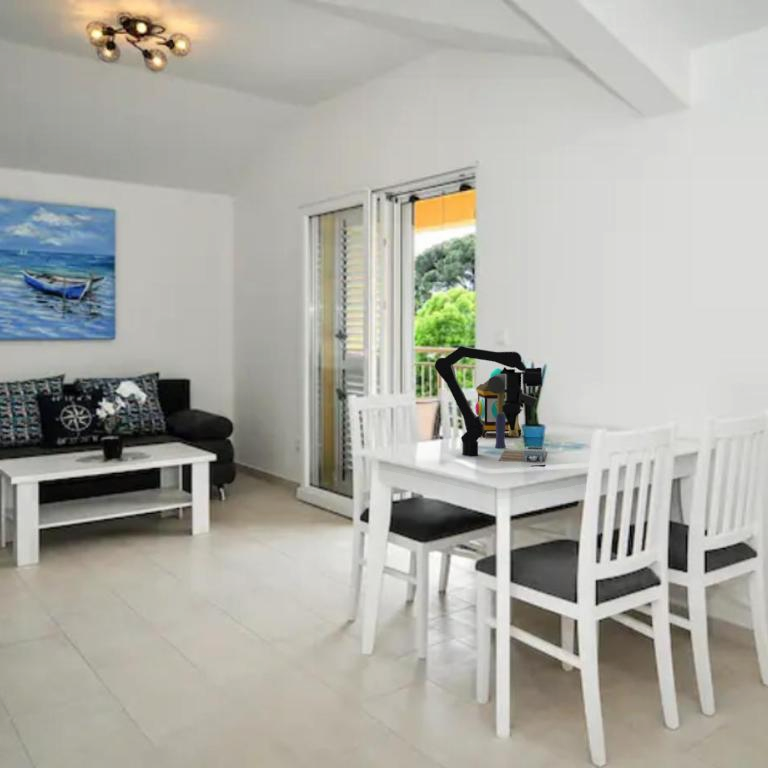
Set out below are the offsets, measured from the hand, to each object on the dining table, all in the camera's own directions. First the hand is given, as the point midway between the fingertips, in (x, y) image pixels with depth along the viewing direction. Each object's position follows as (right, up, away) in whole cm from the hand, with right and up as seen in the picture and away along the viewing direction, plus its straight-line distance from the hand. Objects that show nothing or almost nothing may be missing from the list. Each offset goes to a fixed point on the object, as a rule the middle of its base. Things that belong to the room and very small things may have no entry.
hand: (513, 429), depth 279 cm
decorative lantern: (+4, -7, +66) cm, 67 cm away
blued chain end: (+7, -10, -5) cm, 13 cm away
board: (+4, -11, 0) cm, 12 cm away
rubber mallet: (-2, -10, +20) cm, 22 cm away
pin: (0, -2, 0) cm, 2 cm away
